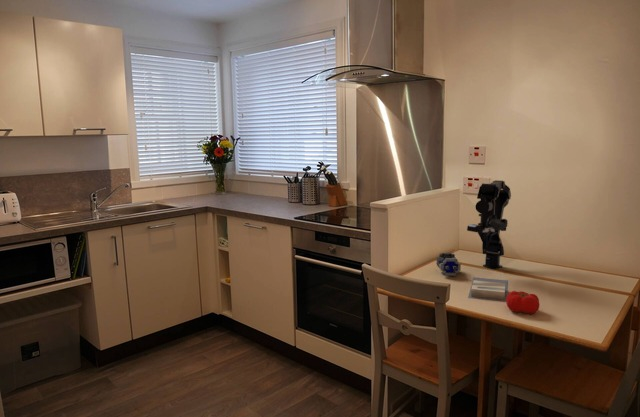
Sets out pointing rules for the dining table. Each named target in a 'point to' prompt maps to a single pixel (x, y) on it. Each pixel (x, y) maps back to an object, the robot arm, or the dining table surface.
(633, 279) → the dining table surface
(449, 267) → the toy
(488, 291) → the board
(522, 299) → the tomato
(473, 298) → the mat
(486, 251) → the robot arm
